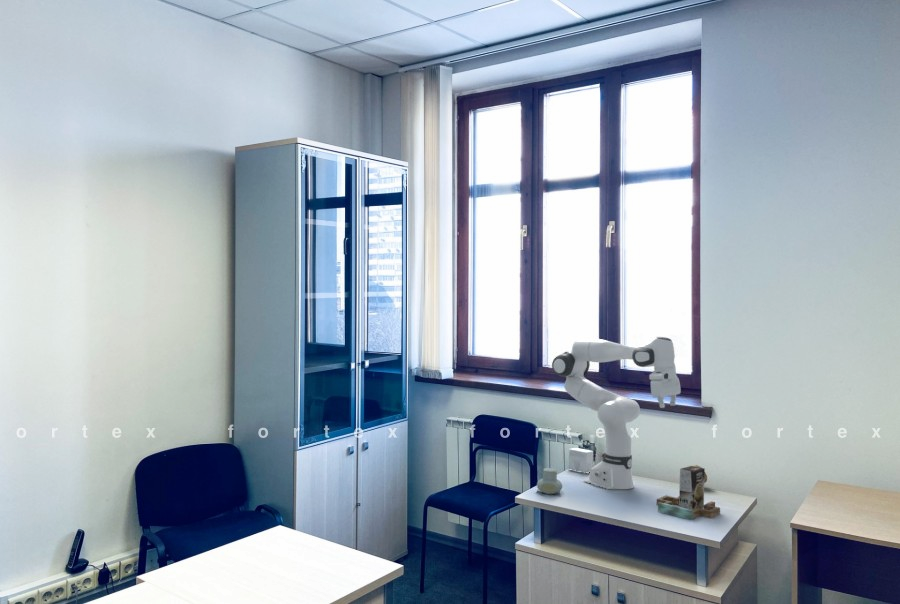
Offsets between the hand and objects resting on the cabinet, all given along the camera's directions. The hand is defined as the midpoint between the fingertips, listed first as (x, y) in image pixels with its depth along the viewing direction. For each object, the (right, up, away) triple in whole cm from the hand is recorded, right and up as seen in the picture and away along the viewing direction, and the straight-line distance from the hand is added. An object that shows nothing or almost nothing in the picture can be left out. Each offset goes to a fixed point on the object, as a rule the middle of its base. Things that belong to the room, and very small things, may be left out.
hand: (667, 406), depth 293 cm
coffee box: (+5, -39, -15) cm, 42 cm away
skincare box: (-29, -38, +42) cm, 64 cm away
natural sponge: (+18, -39, +15) cm, 46 cm away
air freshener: (-50, -38, +3) cm, 63 cm away
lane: (+2, -39, -18) cm, 43 cm away
